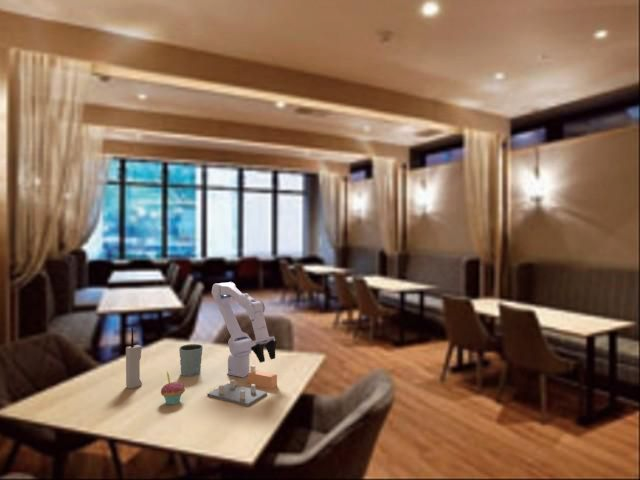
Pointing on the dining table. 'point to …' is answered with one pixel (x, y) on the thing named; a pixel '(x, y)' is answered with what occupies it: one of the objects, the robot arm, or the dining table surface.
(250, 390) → the grey pegged plate
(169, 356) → the dining table surface
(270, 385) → the long tan brick
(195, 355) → the drinking glass
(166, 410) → the dining table surface
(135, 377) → the vintage mobile phone
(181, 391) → the cupcake
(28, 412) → the dining table surface
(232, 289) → the robot arm
